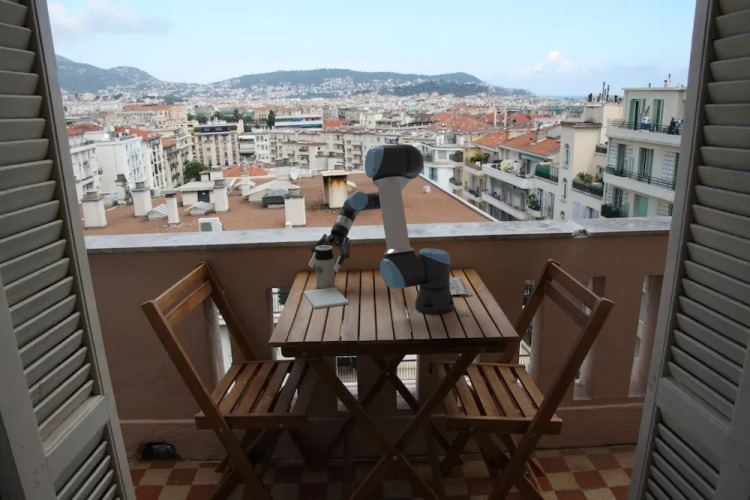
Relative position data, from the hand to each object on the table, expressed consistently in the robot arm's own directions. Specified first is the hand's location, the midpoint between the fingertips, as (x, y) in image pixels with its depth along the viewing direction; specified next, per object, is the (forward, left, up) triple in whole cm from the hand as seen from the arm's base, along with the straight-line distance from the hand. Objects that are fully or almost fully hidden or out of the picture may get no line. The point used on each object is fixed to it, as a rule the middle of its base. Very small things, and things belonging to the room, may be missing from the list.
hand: (322, 268), depth 241 cm
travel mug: (+1, -1, -9) cm, 9 cm away
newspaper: (-23, -52, -10) cm, 58 cm away
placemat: (-14, +3, -9) cm, 17 cm away
